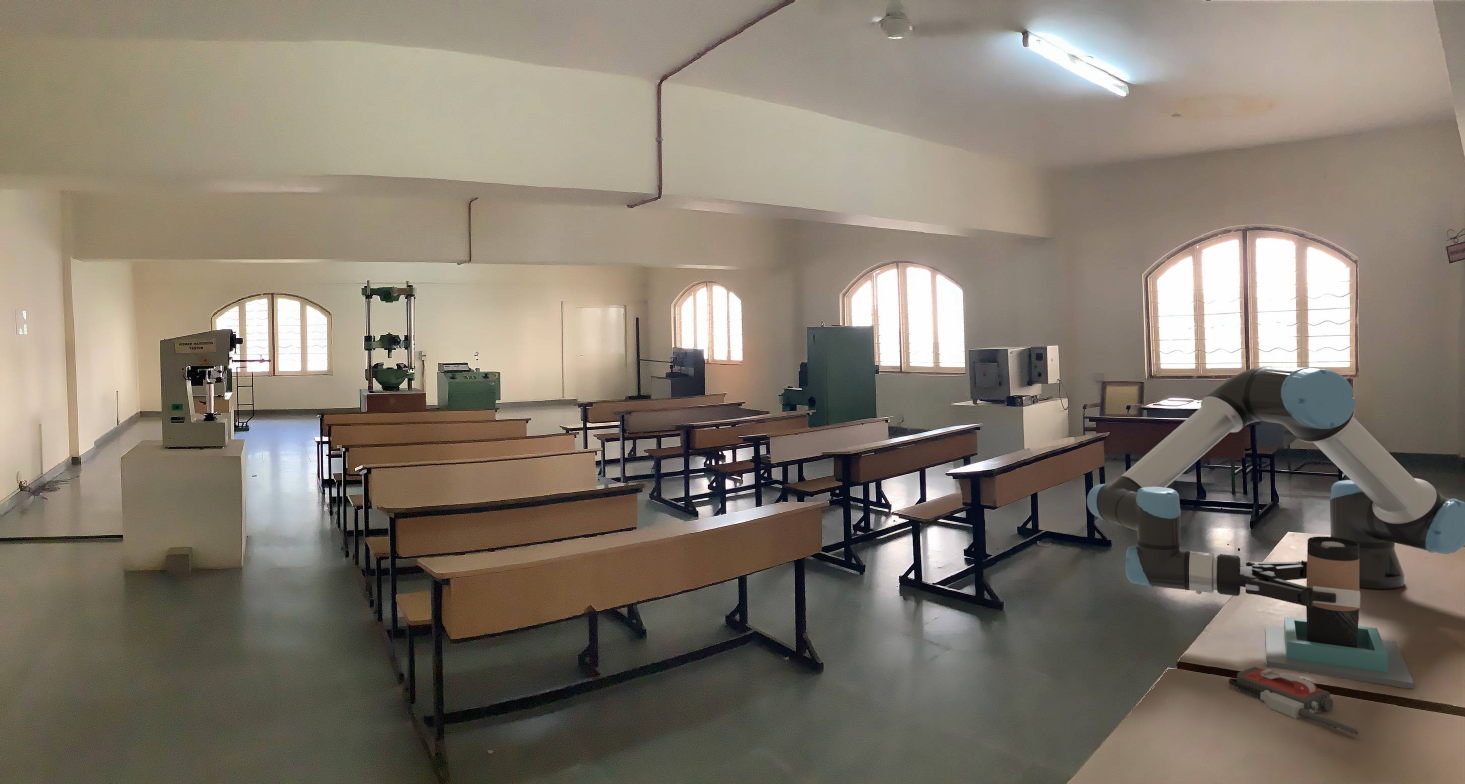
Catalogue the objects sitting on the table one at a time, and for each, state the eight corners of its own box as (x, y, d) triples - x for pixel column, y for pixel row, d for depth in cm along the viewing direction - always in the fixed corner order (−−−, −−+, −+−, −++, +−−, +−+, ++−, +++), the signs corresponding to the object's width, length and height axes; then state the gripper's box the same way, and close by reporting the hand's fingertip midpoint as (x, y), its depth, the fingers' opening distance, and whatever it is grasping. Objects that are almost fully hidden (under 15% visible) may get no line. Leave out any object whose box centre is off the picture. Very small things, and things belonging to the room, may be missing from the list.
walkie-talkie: (1219, 691, 135) (1353, 743, 117) (1219, 665, 135) (1353, 714, 117) (1252, 679, 139) (1387, 729, 121) (1252, 654, 139) (1387, 700, 121)
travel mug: (1348, 644, 148) (1350, 537, 147) (1365, 660, 141) (1367, 548, 140) (1299, 640, 151) (1300, 535, 149) (1314, 656, 144) (1315, 546, 142)
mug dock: (1265, 629, 160) (1265, 609, 160) (1395, 646, 149) (1395, 625, 149) (1266, 666, 143) (1266, 644, 143) (1413, 688, 132) (1413, 664, 132)
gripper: (1218, 574, 166) (1348, 588, 154) (1213, 613, 145) (1363, 631, 133) (1218, 538, 165) (1348, 549, 154) (1213, 571, 144) (1363, 587, 133)
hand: (1356, 587), depth 143 cm, fingers open, 13 cm apart
